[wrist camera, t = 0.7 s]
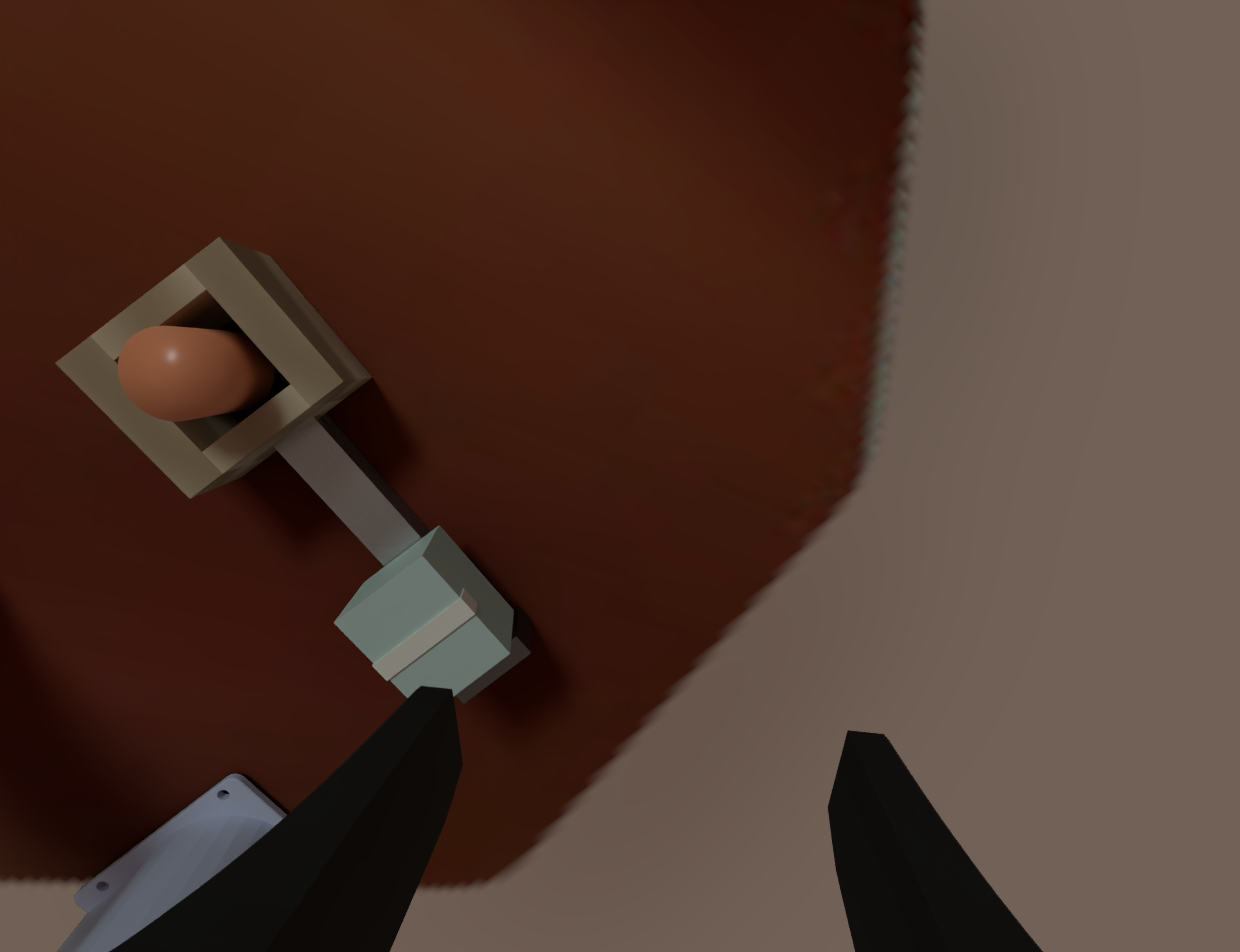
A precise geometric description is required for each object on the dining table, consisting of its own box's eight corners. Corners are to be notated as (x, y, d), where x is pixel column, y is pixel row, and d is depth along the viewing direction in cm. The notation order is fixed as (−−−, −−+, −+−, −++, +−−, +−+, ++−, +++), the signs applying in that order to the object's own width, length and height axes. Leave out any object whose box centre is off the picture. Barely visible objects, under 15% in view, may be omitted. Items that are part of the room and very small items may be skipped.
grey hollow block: (241, 477, 26) (189, 498, 22) (131, 361, 24) (55, 362, 20) (372, 377, 26) (343, 381, 22) (269, 255, 24) (219, 237, 20)
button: (230, 426, 23) (169, 440, 20) (170, 362, 23) (95, 364, 19) (291, 378, 23) (242, 383, 20) (233, 314, 23) (171, 305, 19)
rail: (471, 666, 29) (463, 704, 26) (273, 452, 26) (237, 466, 23) (531, 620, 29) (531, 653, 26) (340, 401, 26) (314, 408, 23)
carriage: (440, 665, 27) (424, 719, 23) (363, 582, 26) (331, 624, 22) (514, 609, 27) (511, 654, 23) (440, 524, 26) (422, 555, 22)
